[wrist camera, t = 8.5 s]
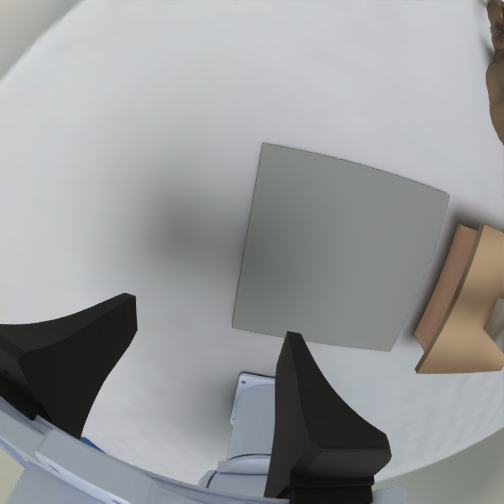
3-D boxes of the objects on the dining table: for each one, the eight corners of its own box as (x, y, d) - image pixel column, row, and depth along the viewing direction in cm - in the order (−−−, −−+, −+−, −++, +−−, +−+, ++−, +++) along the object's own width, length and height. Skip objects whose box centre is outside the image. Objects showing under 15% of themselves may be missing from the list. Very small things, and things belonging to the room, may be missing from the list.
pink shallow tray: (482, 338, 22) (498, 359, 18) (414, 333, 22) (428, 360, 19) (522, 249, 18) (545, 263, 14) (457, 223, 18) (484, 237, 15)
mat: (389, 348, 23) (390, 351, 23) (232, 324, 24) (231, 327, 23) (447, 193, 18) (450, 195, 17) (263, 143, 18) (262, 143, 18)
